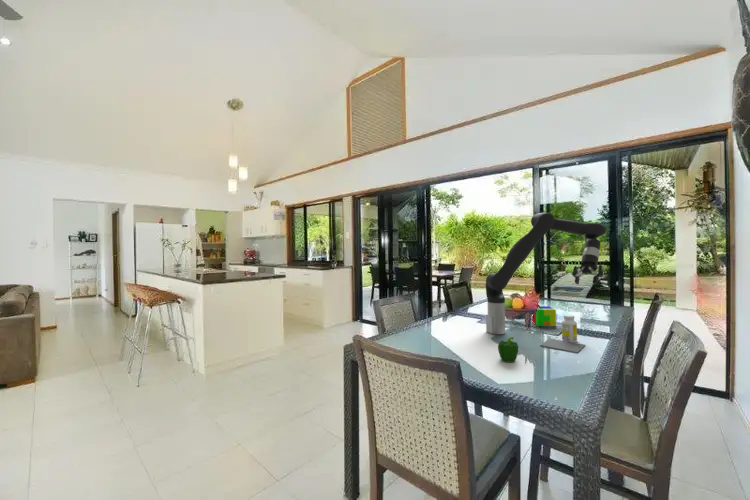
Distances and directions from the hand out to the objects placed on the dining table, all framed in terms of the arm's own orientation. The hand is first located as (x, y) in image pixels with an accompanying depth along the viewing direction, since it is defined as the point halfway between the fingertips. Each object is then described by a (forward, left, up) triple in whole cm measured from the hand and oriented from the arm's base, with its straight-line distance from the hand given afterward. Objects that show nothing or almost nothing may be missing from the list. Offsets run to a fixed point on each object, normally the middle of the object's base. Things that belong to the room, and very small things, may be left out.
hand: (585, 283), depth 178 cm
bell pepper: (-59, -22, -28) cm, 69 cm away
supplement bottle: (-14, -5, -28) cm, 32 cm away
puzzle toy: (-5, +26, -28) cm, 39 cm away
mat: (-23, -11, -28) cm, 38 cm away
